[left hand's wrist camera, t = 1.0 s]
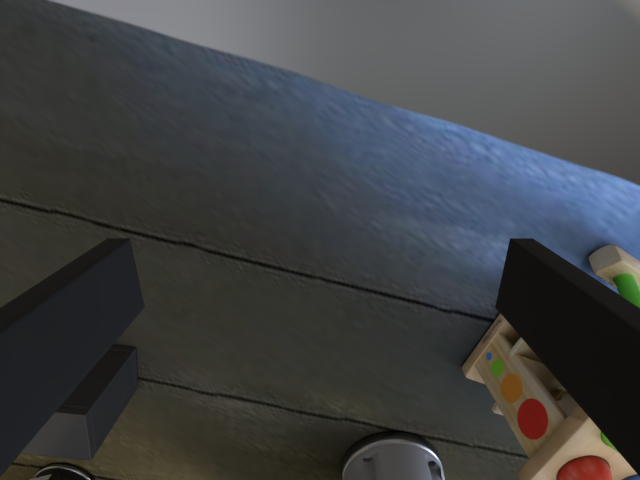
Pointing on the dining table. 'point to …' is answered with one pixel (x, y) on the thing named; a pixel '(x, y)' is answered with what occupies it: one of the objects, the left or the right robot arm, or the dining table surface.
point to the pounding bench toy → (552, 394)
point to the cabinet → (89, 408)
